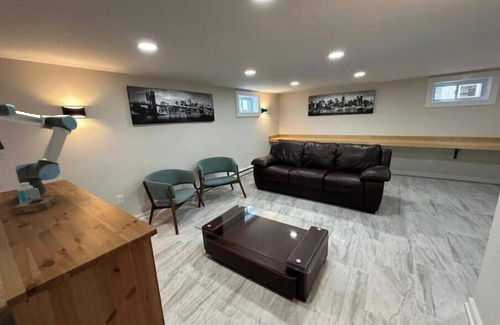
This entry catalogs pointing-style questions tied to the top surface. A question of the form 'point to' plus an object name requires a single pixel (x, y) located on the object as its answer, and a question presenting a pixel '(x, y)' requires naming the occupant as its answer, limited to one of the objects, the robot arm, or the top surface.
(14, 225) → the top surface
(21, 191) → the pill bottle
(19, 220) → the top surface
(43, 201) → the socket block
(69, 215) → the top surface
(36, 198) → the peg
